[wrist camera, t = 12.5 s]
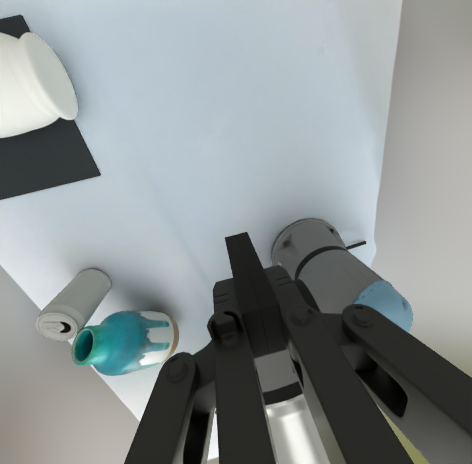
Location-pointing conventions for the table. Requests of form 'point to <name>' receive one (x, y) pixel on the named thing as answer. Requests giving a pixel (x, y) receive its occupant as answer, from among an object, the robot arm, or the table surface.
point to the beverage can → (73, 305)
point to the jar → (32, 86)
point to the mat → (41, 148)
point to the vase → (127, 342)
